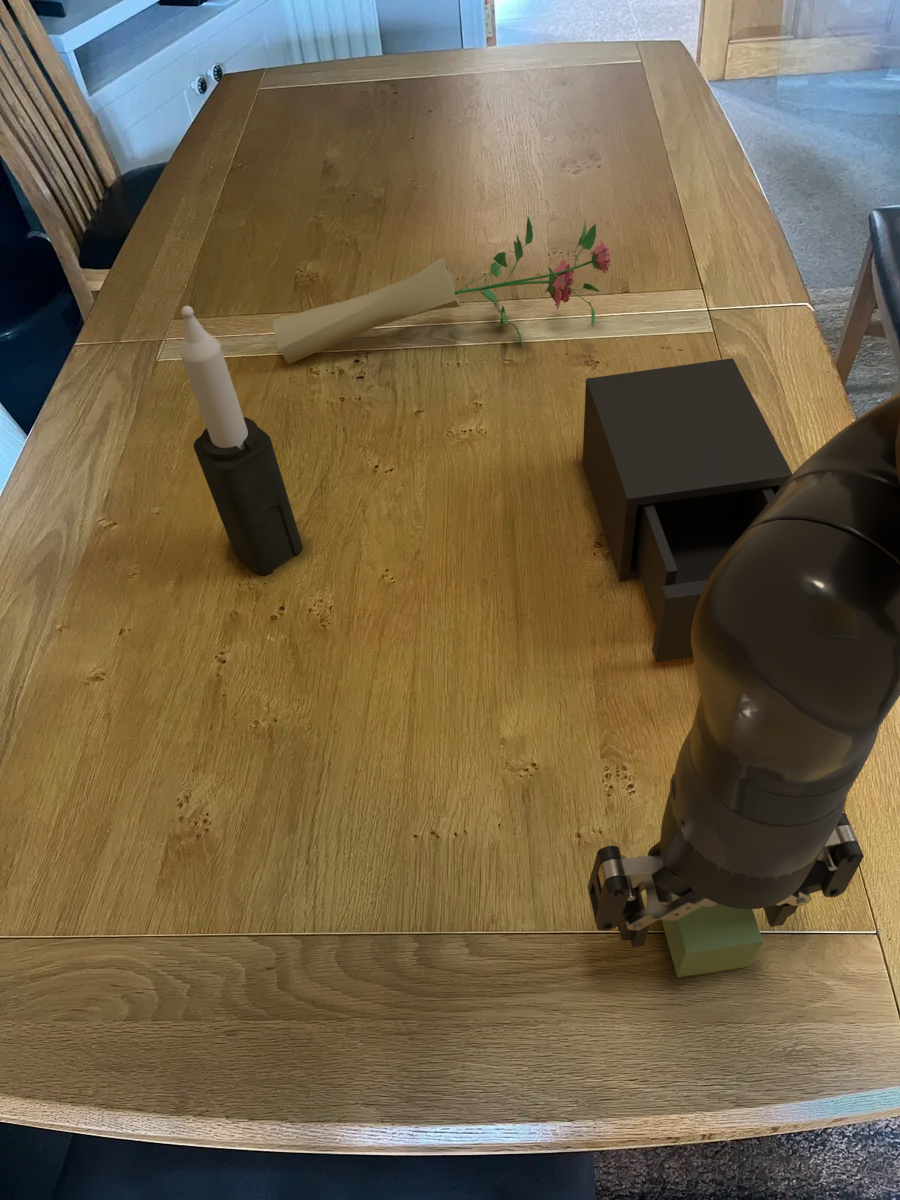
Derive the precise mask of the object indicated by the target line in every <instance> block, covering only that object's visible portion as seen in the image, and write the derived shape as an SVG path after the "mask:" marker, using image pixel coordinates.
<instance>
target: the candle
mask: <svg viewBox="0 0 900 1200" xmlns="http://www.w3.org/2000/svg"><path fill="white" fill-rule="evenodd" d="M194 312H195V311H194V309H193V307H192V306H189V305H184V306H183V307H182V308H181V310H180V314H181V315H182V317H183V328H184V329H183V332H184V333H183V340H182V343H181V346H180V349H179V355H180V358H181V361H182V364H183V366H184V370H185V372H186V375H187V377H188V380H189V383H190V386H191V389H192V391H193V394H194V397H195V399H196V402H197V405H198V407H199V411H200V414H201V416H202V418H203V422H204V424H205V427H206V428H205V429H204V430H203V431H202V434H201V435H200V436H199V437H197V438H196V439H195V440H194V442H193V449H194V452H195V455H196V457H197V460H198V463H199V465H200V468H201V470H202V473H203V476H204V478H205V481H206V483H207V487H208V489H209V491H210V495H211V497H212V499H213V502H214V504H215V506H216V510H217V512H218V515H219V518H220V520H221V522H222V525H223V527H224V530H225V533H226V535H227V538H228V541H229V543H230V546H231V548H232V552H233V553H234V556H235V557H236V558H237V559H238V560H239V561H240V562H241V563H243V564H244V565H245V566H246V567H247V568H248V569H249V570H250V571H251V572H252V573H253V574H254V575H257V576H260V577H261V576H263V577H264V576H268V575H271V574H273V573H274V570H275V569H278V568H279V567H280V566H282V565H283V564H284V563H286V562H287V561H289V560H290V559H292V558H293V557H297V556H299V555H301V553H302V551H303V543H302V539H301V536H300V533H299V529H298V526H297V522H296V520H295V515H294V512H293V509H292V506H291V503H290V498H289V496H288V493H287V489H286V485H285V483H284V479H283V475H282V472H281V469H280V465H279V462H278V458H277V455H276V452H275V449H274V445H273V442H272V439H271V436H270V435H269V434H268V433H267V432H266V431H265V430H263V429H262V428H260V427H259V426H258V425H257V423H256V422H255V421H254V420H252V419H250V418H249V417H246V416H244V414H243V412H242V409H241V405H240V402H239V399H238V396H237V392H236V390H235V387H234V382H233V380H232V377H231V374H230V372H229V371H230V370H229V368H228V365H227V362H226V359H225V355H224V353H223V349H222V346H221V344H220V341H219V340H218V339H217V338H216V337H215V336H214V335H212V334H210V333H209V332H208V331H206V330H205V328H204V327H203V326H202V324H201V323H200V322H199V321H198V319H197V317H196V316H195V315H194V314H195V313H194Z"/></svg>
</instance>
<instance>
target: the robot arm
mask: <svg viewBox="0 0 900 1200" xmlns="http://www.w3.org/2000/svg"><path fill="white" fill-rule="evenodd" d="M691 646H692V652H693V663H694V668H695V674H696V682H697V686H698V690H699V698H698V702H697V706H696V710H695V715H694V718H693V720H692V721H693V722H692V726H691V728H690V730H689V732H688V733H687V735H686V737H685V739H684V740H683V743H682V744H681V746H680V747H681V748H680V749H679V753H678V755H677V760H676V764H675V767H674V773H672V775H671V778H670V781H669V791H668V795H667V799H666V803H665V808H664V811H663V815H662V820H661V826H660V837H659V838H660V839H659V841H658V842H657V843H655V844H654V845H653V846H652V847H650V849H649V850H648V852H647V855H646V856H645V855H644V856H636V857H629V858H626V856H625V855H623V854H621V850H620V847H619V846H617V845H607V846H604V847H602V848H601V847H600V848H599V849H598V850H597V852H596V855H595V859H594V862H593V866H592V870H591V872H590V873H591V874H590V876H589V881H588V884H587V892H588V895H589V900H590V905H591V910H592V914H593V918H594V922H595V926H596V930H597V931H599V932H600V931H601V932H609V931H612V930H614V929H616V928H618V933H619V937H620V940H622V941H623V942H627V941H629V942H630V945H631V948H633V949H634V948H640V947H644V946H646V945H645V944H646V941H647V937H648V935H649V930H650V926H651V925H652V924H654V923H656V922H657V921H662V920H664V921H671V922H674V921H676V920H678V919H680V918H682V917H683V916H685V915H687V914H689V913H691V912H693V911H695V910H696V909H698V908H700V907H702V906H706V907H712V906H714V905H716V904H717V903H718V904H720V905H724V906H727V907H731V908H737V909H752V910H758V909H763V912H764V914H765V917H766V920H767V923H768V926H770V927H771V928H773V927H779V926H783V925H784V924H785V923H786V921H787V919H788V918H789V917H790V916H792V915H794V914H795V913H796V911H797V910H798V908H799V907H802V906H805V905H806V904H808V903H810V902H811V901H812V899H813V898H812V896H811V895H812V894H814V893H817V892H820V891H822V894H823V896H824V897H825V898H836V897H839V896H841V895H842V894H844V892H846V890H847V889H848V887H849V885H850V883H851V881H852V880H853V877H854V876H855V874H856V872H857V870H858V868H859V866H860V865H861V863H862V861H863V859H864V858H865V855H864V853H863V850H862V848H861V847H860V844H859V841H858V838H857V836H856V834H855V832H854V829H853V827H852V825H851V823H850V821H849V818H848V815H847V814H846V812H844V810H845V807H846V803H847V799H848V795H849V793H850V791H851V790H852V788H853V785H854V784H855V782H856V780H857V779H858V777H859V775H860V773H861V772H862V770H863V768H864V766H865V764H866V763H867V761H868V759H869V757H870V755H871V752H872V751H873V748H874V746H875V743H876V740H877V738H878V734H879V731H880V727H881V725H882V723H883V722H884V721H885V719H886V718H887V716H888V714H889V713H890V711H891V710H892V709H893V707H894V706H895V704H896V703H897V701H898V699H899V698H900V391H899V392H898V393H896V394H894V395H893V396H891V397H889V398H887V399H886V400H884V401H882V403H879V404H878V405H876V406H874V407H873V408H872V409H870V410H869V411H867V412H866V413H864V414H862V415H861V416H859V417H858V418H857V419H855V420H854V421H853V422H851V423H850V424H848V425H847V426H845V427H844V428H843V429H842V430H840V431H839V432H838V433H836V434H835V435H834V436H832V437H831V438H830V439H829V440H828V441H826V443H824V444H823V445H822V446H821V447H820V448H819V449H818V450H816V451H815V452H814V453H813V454H812V455H810V456H809V457H808V458H807V459H806V460H805V461H804V462H803V463H802V464H801V465H800V466H798V468H796V470H795V471H794V472H792V475H791V477H790V478H789V479H788V480H787V481H786V482H785V483H784V485H783V486H782V487H781V488H780V489H779V491H778V492H777V493H776V494H775V496H774V497H773V498H772V499H771V500H770V502H769V503H768V504H767V505H766V506H765V508H764V509H763V510H762V511H761V512H760V513H759V515H758V516H757V517H756V518H755V519H754V521H753V522H752V523H751V524H750V525H749V526H748V528H747V529H746V530H745V531H744V532H743V534H742V535H741V536H740V537H739V538H738V539H737V540H736V542H735V543H734V544H733V545H732V546H731V548H730V549H729V550H728V551H727V552H726V554H725V555H724V556H723V557H722V559H721V560H720V561H719V563H718V564H717V566H716V567H715V569H714V570H713V572H712V574H711V575H710V577H709V579H708V581H707V583H706V585H705V587H704V589H703V592H702V594H701V597H700V599H699V602H698V605H697V608H696V611H695V614H694V618H693V623H692V628H691ZM643 891H645V893H646V898H647V905H646V906H645V904H644V900H643V896H642V893H641V892H643ZM671 893H672V894H675V895H677V896H679V898H677V899H676V900H674V901H673V898H672V894H671Z"/></svg>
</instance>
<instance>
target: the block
mask: <svg viewBox="0 0 900 1200" xmlns="http://www.w3.org/2000/svg"><path fill="white" fill-rule="evenodd" d="M671 894H672V893H671ZM672 898H673V901H674V900H676V899H677V898H679V896H677V895H675V894H672ZM756 919H757V918H756V916H755V913H754V909H737V908H731V907H727V906H724V905H720V904H718V903H717V904H716V905H714V906H712V907H706V906H702V907H700V908H698V909H696V910H695V911H693V912H691V913H689V914H687V915H685V916H683V917H682V918H680V919H678V920H676V921H674V922H671V921H664V920H661V922H662V927H663V929H664V934H665V936H666V941H667V944H668V949H669V952H670V956H671V960H672V963H673V967H674V971H675V974H676V977H677V978H683V977H690V976H698V975H703V974H710V973H711V974H712V973H717V972H723V971H731V970H736V969H743V968H749V967H751V965H752V963H753V961H754V959H755V957H756V955H757V954H758V951H759V950H760V948H761V946H762V944H763V941H764V940H763V937H762V934H761V931H760V928H759V925H758V922H757V920H756Z"/></svg>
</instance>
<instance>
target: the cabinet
mask: <svg viewBox="0 0 900 1200" xmlns="http://www.w3.org/2000/svg"><path fill="white" fill-rule="evenodd" d="M584 393H585V394H584V412H583V413H584V415H583V436H582V437H583V438H582V463H581V464H582V466H583V470H584V474H585V476H586V479H587V483H588V486H589V490H590V492H591V496H592V500H593V502H594V505H595V509H596V511H597V515H598V519H599V522H600V524H601V527H602V531H603V535H604V537H605V540H606V544H607V548H608V550H609V554H610V557H611V561H612V563H613V566H614V570H615V573H616V575H617V576H616V577H617V580H618V582H627V581H633V580H640V577H639V574H638V571H637V568H636V565H635V562H634V559H633V556H632V552H633V543H634V534H635V525H636V516H637V507H638V505H643V504H650V503H657V502H664V501H672V500H679V499H686V498H693V497H700V496H707V495H714V494H721V493H728V492H735V491H742V490H749V489H756V488H763V487H770V486H771V488H772V490H773V492H774V494H776V493H777V492H778V491H779V489H780V488H781V487H782V486H783V485H784V483H785V482H786V481H787V480H788V479H789V478H790V477H791V475H792V474H793V472H792V470H791V468H790V466H789V464H788V462H787V460H786V458H785V456H784V455H783V452H782V451H781V449H780V447H779V445H778V442H777V441H776V438H775V436H774V435H773V433H772V431H771V429H770V428H769V425H768V423H767V422H766V420H765V418H764V415H763V414H762V412H761V410H760V408H759V406H758V403H757V402H756V400H755V397H753V394H752V392H751V391H750V389H749V387H748V385H747V382H746V381H745V379H744V376H743V375H742V373H741V370H740V369H739V367H738V365H737V363H736V361H735V359H734V358H733V357H731V358H725V359H717V360H710V361H703V362H696V363H687V364H681V365H674V366H667V367H659V368H653V369H646V370H645V369H644V370H638V371H631V372H630V371H629V372H623V373H617V374H610V375H601V376H594V377H587V378H585V392H584Z"/></svg>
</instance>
